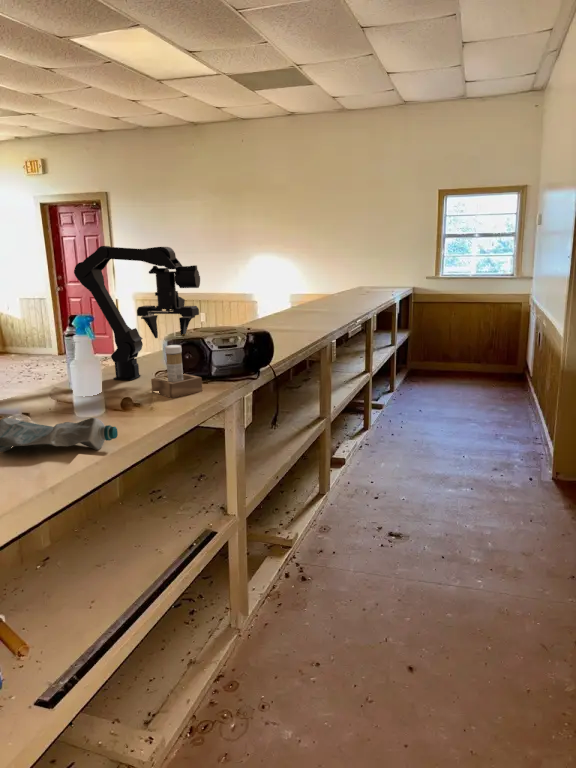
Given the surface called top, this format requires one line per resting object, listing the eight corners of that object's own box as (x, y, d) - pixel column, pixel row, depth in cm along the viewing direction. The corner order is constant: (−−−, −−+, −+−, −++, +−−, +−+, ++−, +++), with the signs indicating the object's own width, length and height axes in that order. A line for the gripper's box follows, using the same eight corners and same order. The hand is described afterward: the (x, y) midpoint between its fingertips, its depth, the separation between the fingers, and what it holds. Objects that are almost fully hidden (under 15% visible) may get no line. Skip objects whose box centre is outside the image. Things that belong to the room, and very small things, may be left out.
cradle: (152, 392, 161) (151, 378, 160) (181, 385, 168) (180, 372, 167) (172, 398, 154) (171, 384, 153) (202, 390, 161) (201, 377, 161)
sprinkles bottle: (179, 388, 165) (176, 343, 161) (187, 391, 161) (184, 345, 158) (165, 391, 162) (162, 345, 159) (172, 394, 158) (169, 347, 155)
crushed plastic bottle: (-18, 459, 110) (102, 459, 108) (-22, 424, 109) (99, 423, 107) (20, 442, 123) (128, 442, 121) (17, 411, 122) (126, 410, 120)
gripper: (204, 286, 176) (207, 335, 180) (151, 286, 181) (154, 334, 185) (190, 289, 166) (193, 340, 170) (133, 289, 170) (138, 339, 174)
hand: (169, 338), depth 175 cm, fingers open, 9 cm apart
